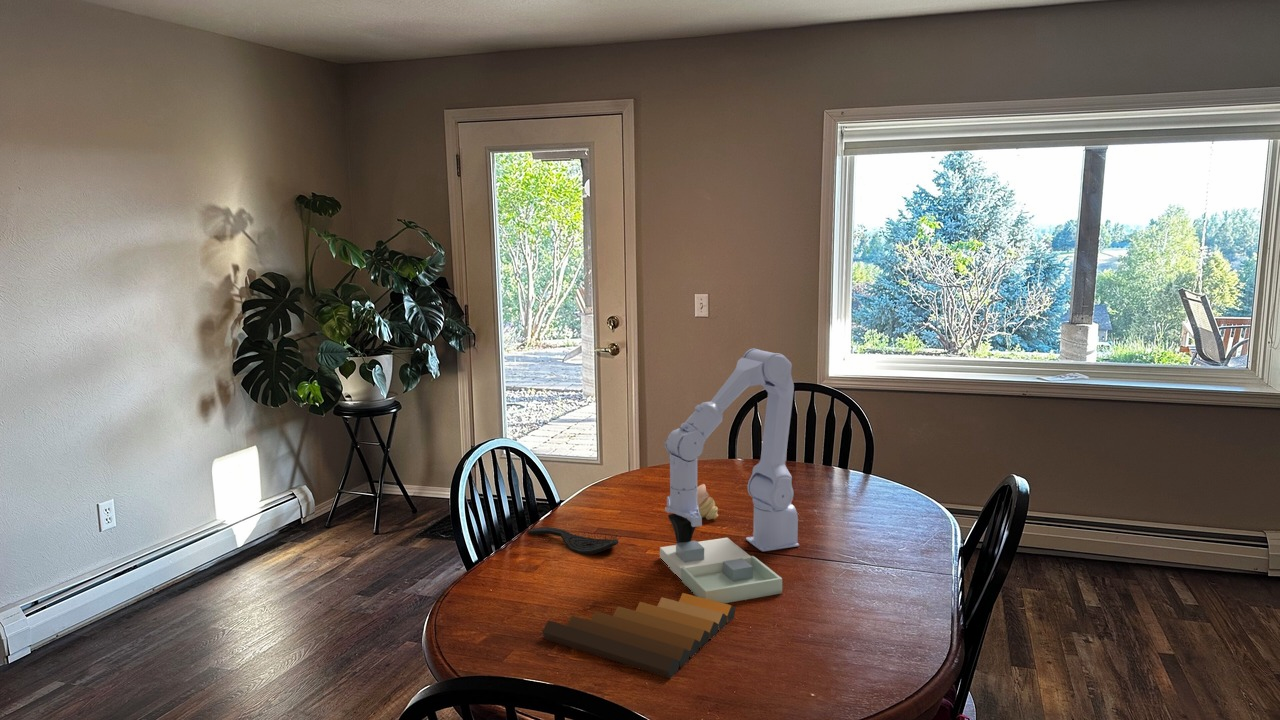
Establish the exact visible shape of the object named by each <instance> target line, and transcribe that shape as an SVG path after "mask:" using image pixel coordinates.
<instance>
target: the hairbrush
mask: <svg viewBox="0 0 1280 720" xmlns="http://www.w3.org/2000/svg"><path fill="white" fill-rule="evenodd" d="M528 533H529V534H530V535H551V536H556V537H561V539H562V540H563V543H564V544H565V546H566V548H568V549H569V551H570V550H571V551H572V552H574V553H577V554H580V555H583V556H584V555H586V556H587V555H588V556H589V555H593V554H597V553H601V552H604V551H606V550H608V549H611V548H613V547H614V546H616V545H618V544H619V538H618V539H617V537H618V536H617V534H613V535H611V534H610V536H609V538H607V534H605V536H604V537H603V538H601V537H602V534H600V535H598V534H596V533H594V534H592V533H589V534H590V535H591V536H586V531H585V532H584V533H583V531H581V534H583V535H579V534H577V533H576V534H575V533H574V534H573V531H572V530H571V532H570V531H569V532H568V531H566V530H564V529H562V528H561V529H560V528H556V527H551V526H542V527H535V528H531V529H528ZM593 536H594V537H593ZM596 537H597V538H596Z"/></svg>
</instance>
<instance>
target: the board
mask: <svg viewBox="0 0 1280 720" xmlns="http://www.w3.org/2000/svg"><path fill="white" fill-rule="evenodd" d="M697 542H698V543H699V544H700V545H701V546H702V547H704V560H698V561H692V562H685V563H684V562H683V561H682V560H681V559H680V558H679V557H678V556H677V555H676V544H674V545H666V546H661V547H660V546H659V559H660V558H661V559H662V560H663V561H664V562H665V563H666V564H667V565H668V566H667V565H666V564H665V563H664V562H663V561H662V560H661V559H660V560H661V561H662V562H663V563H664V564H665V565H666V566H667V567H668V568H669V567H670V568H669V569H670V571H671V572H672V573H674V575H675V574H676V575H677V576H678V577H679V578H680V579H681V567H685V568H686V569H687V570H688V571H689V572H690V573H691V574H692V575H693V576H694V577H696V576H702V575H708V574H714V573H720V572H723V561H729V560H735V559H741V558H743V559H744V560H745V561H747V562H748V563H749V564H751V556H752V555H750V554H748V553H747V552H746V551H745V550H744V549H743V548H741V547H740V546H739V545H737V544H736V543H735V542H733V541H732V540H731V539H730V538H729V537H722V538H716V539H708V540H702V541H700V540H699V541H697ZM676 575H675V576H676ZM677 576H676V577H677ZM678 577H677V578H678ZM679 578H678V579H679ZM680 579H679V580H680Z"/></svg>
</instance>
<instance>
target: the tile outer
mask: <svg viewBox="0 0 1280 720" xmlns="http://www.w3.org/2000/svg"><path fill="white" fill-rule="evenodd" d="M698 542H699V541H697V540H691V541H688V542H681V543H677V542H676V543H675V545H676V555H677V556H678V557H679V558H680V559H681V560H682V561H683V562H684V563H685V562H692V561H698V560H704V547H702V546H701V545H700V544H699V543H698Z"/></svg>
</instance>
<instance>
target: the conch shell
mask: <svg viewBox="0 0 1280 720" xmlns="http://www.w3.org/2000/svg"><path fill="white" fill-rule="evenodd" d="M697 505H698V508H699V514H700V516H701V517H702V519H703V518H705V519H706V520H707V521H710V520H715V519H717V518H718V517H719V514H718V511H719V508H718V506H716V502H715V500H714V498H713V497H711V495H709V493H708V491H707V488H706V484H705V483H702V484H700V485H697Z"/></svg>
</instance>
